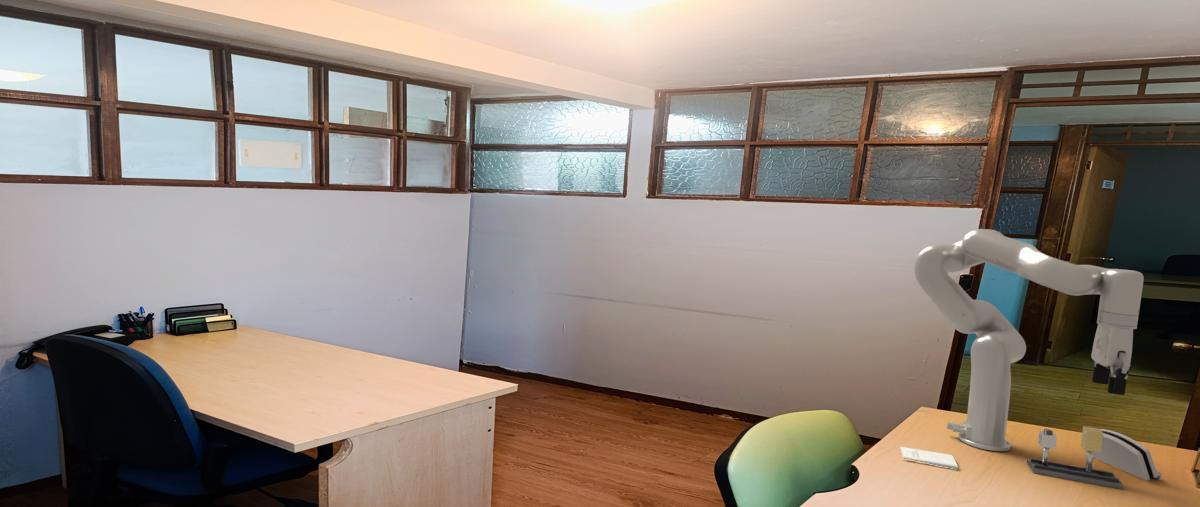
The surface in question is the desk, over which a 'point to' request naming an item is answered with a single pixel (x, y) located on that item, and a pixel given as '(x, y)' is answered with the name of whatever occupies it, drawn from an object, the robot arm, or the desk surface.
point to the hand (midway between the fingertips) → (1107, 388)
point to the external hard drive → (929, 457)
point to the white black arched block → (1126, 455)
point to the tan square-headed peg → (1091, 444)
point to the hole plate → (1068, 466)
